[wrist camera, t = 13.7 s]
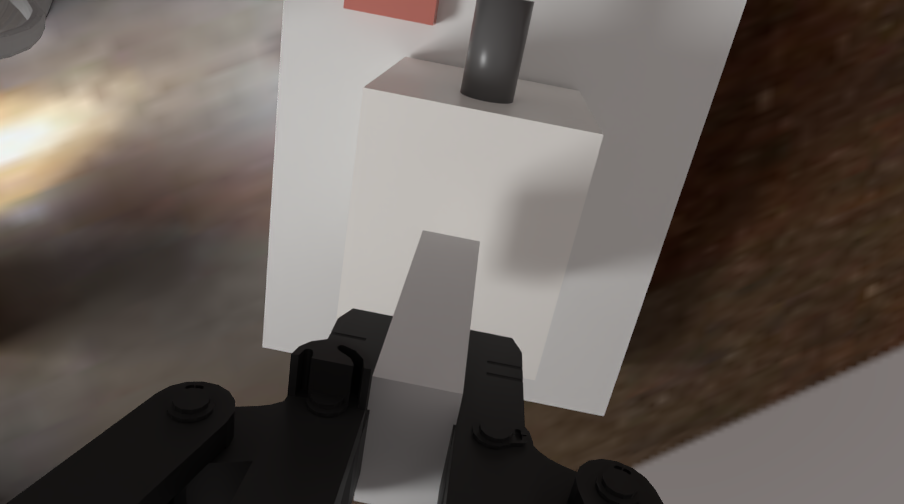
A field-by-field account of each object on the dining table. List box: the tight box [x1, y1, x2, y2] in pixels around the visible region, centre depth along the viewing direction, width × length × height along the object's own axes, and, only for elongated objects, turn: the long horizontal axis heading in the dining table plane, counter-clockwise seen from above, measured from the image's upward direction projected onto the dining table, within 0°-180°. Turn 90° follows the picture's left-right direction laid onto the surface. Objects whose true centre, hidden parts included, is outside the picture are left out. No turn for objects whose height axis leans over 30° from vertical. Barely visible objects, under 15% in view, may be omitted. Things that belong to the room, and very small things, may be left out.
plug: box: [336, 0, 604, 380], centre depth 23 cm, size 11×6×11 cm, turn 170°
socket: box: [262, 0, 747, 416], centre depth 26 cm, size 20×16×5 cm
